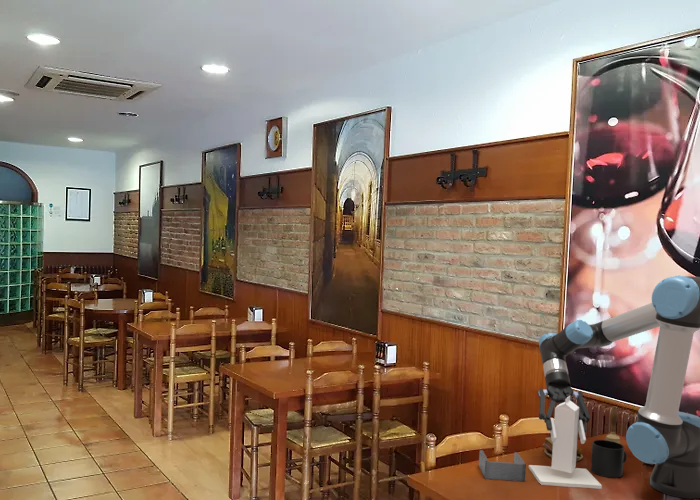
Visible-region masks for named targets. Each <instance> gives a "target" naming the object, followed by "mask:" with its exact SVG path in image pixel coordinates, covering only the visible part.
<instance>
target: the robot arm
mask: <svg viewBox="0 0 700 500" xmlns="http://www.w3.org/2000/svg"><path fill="white" fill-rule="evenodd" d="M657 328H659V330H658V335H657V336H658V337H657V340H656V341H657V342H656V345H655V346H656V347H655V352H654V357H653V363H652V368H651V373H650V374H651V375H650V378H649V384H648V388H647V389H648V390H647V393H646V394H647V395H646V399H645V400H646V402H645V405H644V406H642V407H640V408H639V409H638V411H637V416H636V422H634V423H632V424H631V425H630V426H628V429H627V431H626V433H625V434H626V435H625V440H626V444H627V447H628V449H629V450H630V452H631V453H632V455H633V456H634V458H637V460H639V461H640V462H643V463H645V464H648V465H649V464H650V465H654V464H655V465H654V467H653V469H652V471H651V474H650V477H649V485H650V487H652V488H653V489H655V490H657V491H658V492H661V493H662V494H663V493H664V494H666V495H669V496H671V497H677V498H681V499H687V500H688V499H689V500H692V499H693V500H696V499H695V498H700V416H698V415H696V414H692V413H687V412H684V411H680V405H681V400H682V395H683V390H684V389H683V388H684V385H685V379H686V374H687V369H688V365H689V361H690V360H689V359H690V353H691V350H692V349H691V348H692V343H693V337H694V333H696V332H698V331H699V330H700V276H688V275H675V276H669V277H666V278H663V279H662V280H661V281H659V282H658V283H657V284H656V286H654V288H653V291H652V294H651V303H650V302H649V303H648V304H645V305H642V306H640V307H637V308H634V309H631V310H629V311H626V312H623V313H621V314H618V315H615V316H613V317H611V318H607V319H604V320H602V321H601V320H600V322H597V323H594V324H593V323H592V324H588V322H586V321H583V320H582V319H576V320H573V322H570V323H569V324H568V325H566V327H564V328H563V329H561V330H560V331H558V332H547V333H543V334H542V335H541V336H540V337H539V340H538V344H539V348H538V349H539V353H540V357H541V361H542V368H543V374H544V380H545V387H546V389H543V388H541V387H540V388H539V390H538V392H537V396H538V398H539V399H538V400H539V401H538V402H539V404H538V405H539V406H538V419H539V420H544V423H545V426H546V431H550V437H551V439H552V442H555V440H556V438H557V436H556V431H555V425H554V418H553V417H552V414H553V411H554V409H555V406H556V405H555V404H561V403H563V402H565V400H566V398H567V397H569V396H570V401H572V402H573V403H574V404H576V405H577V406H578V407H579V421H578V435H579V441H580V444H581V445H584V444H585V443H586V441H587V438H586V432H587V424H586V423H589V421H590V419H591V415H590V413H589V410H588V407H587V405H586V403H585V402H586V401H585V400H584V398H583V391H581V390H578V391H574V389H573V388H572V384H571V380H570V376H569V370H568V366H567V361H566V357H567V356H569V355H570V354H572V353H573V352H575V351H576V350H578V349H586V348H587V349H588V348H603V347H606V346H610V345H611V344H612V343H614V342H616V341H619V340H623V339H626V338H628V337H632V336H634V335H638V334H641V333H644V332H648V331H651V330H653V329H657ZM546 396H548V397H549V398H550V402H549V405H548V409H547V412H546V411H545V410H546V409H545V405H546V404H545V403H546ZM572 396H573V397H574V399H575V400H576V403H575V402H574V399H573V397H572ZM545 412H546V413H545Z"/></svg>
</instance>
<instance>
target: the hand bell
mask: <svg viewBox="0 0 700 500" xmlns="http://www.w3.org/2000/svg"><path fill="white" fill-rule="evenodd" d="M609 419H610V420H609V421H610V433H609V434H607V435H605V440H608V441H613V442H616V443H619V444H621V438H620V436H619V435H617V422H618V419H619V413H618V409H617V406H614V405H613V406H612V407H611V409H610V413H609Z"/></svg>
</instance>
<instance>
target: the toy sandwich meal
mask: <svg viewBox="0 0 700 500" xmlns="http://www.w3.org/2000/svg"><path fill="white" fill-rule="evenodd" d="M541 447H542V448H544V449H543V451H544V453H545V454H546V456H547V457H549V458H550V459H552V450H553V442H552V439H551V436H548V437H545V439H544V443H543V444H542V446H541ZM582 450H583V449H582V448H577V452H576V462H580V461H581V460H582V459H583V458H584V456H583V454H582V452H583V451H582Z"/></svg>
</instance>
